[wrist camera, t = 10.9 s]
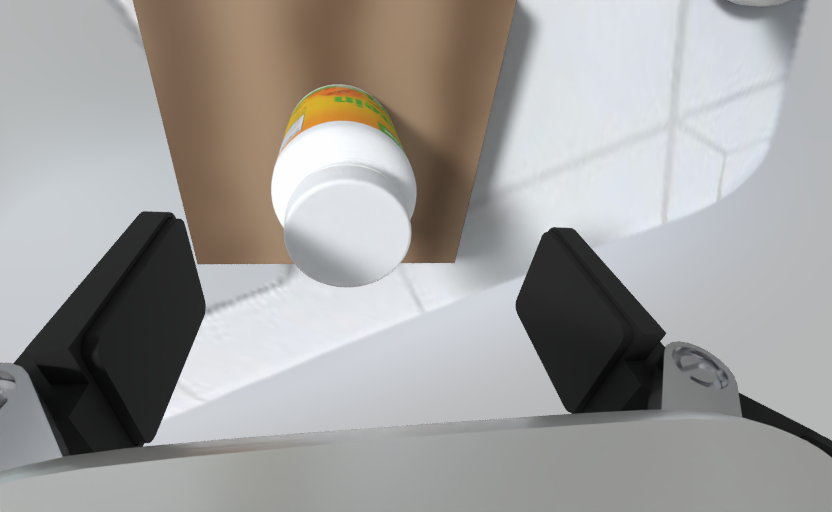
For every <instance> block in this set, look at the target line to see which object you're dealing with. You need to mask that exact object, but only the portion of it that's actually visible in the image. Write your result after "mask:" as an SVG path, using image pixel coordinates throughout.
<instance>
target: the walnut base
mask: <svg viewBox="0 0 832 512" xmlns="http://www.w3.org/2000/svg"><path fill="white" fill-rule="evenodd" d="M516 1H517V0H133V3H134V7H135V11H136V15H137V19H138V24H139V28H140V32H141V36H142V40H143V44H144V48H145V52H146V56H147V60H148V64H149V68H150V72H151V76H152V80H153V85H154V88H155V93H156V97H157V101H158V105H159V108H160V113H161V117H162V121H163V125H164V129H165V133H166V137H167V141H168V145H169V149H170V153H171V157H172V162H173V166H174V170H175V174H176V178H177V182H178V186H179V190H180V194H181V198H182V202H183V207H184V211H185V215H186V219H187V223H188V227H189V230H190V235H191V239H192V243H193V247H194V251H195V255H196V259H197V263H198V264H294V262H293V261H292V259H291V258H290V256H289V254H288V252H287V250H286V246H285V242H284V233H283V231H284V228H283V226H282V225H281V223H280V221H279V220H278V218H277V215H276V213H275V210H274V207H273V203H272V196H271V183H272V176H273V171H274V166H275V164H276V160H277V157H278V154H279V151H280V148H281V145H282V142H283V138H284V135H285V132H286V129H287V126H288V122H289V120H290V117H291V115H292V113H293V111H294V109H295V108H296V106H297V105H298V103H299V102H300V101H301V100H302V99H303V98H304V97H305V96H306V95H308V94H309V93H310V92H312V91H314V90H316V89H318V88H320V87H323V86H327V85H335V84H342V85H350V86H353V87H357V88H359V89H362V90H364V91H365V92H367V93H369V94H370V95H372V96H373V97H374V98H375V99H376V100H377V101H379V103H380V104H381V105H382V106H383V107H384V109H385V110H386V112H387V113H388V115H389V117H390V119H391V121H392V123H393V126H394V128H395V131H396V133H397V135H398V138H399V140H400V142H401V145H402V147H403V149H404V151H405V153H406V156H407V158H408V160H409V162H410V165H411V167H412V170H413V173H414V177H415V182H416V193H417V195H416V203H415V208H414V212H413V215H412V217H411V220H410V223H411V231H412V232H411V242H410V245H409V249H408V251H407V253H406V255H405V257H404V259H403V260H402V262H401V263H455V259H456V255H457V250H458V246H459V242H460V238H461V234H462V229H463V225H464V221H465V217H466V212H467V208H468V204H469V200H470V196H471V191H472V187H473V183H474V179H475V174H476V170H477V166H478V162H479V158H480V153H481V149H482V145H483V141H484V136H485V132H486V128H487V124H488V120H489V115H490V111H491V107H492V103H493V98H494V94H495V90H496V86H497V82H498V77H499V73H500V69H501V65H502V60H503V56H504V52H505V48H506V44H507V39H508V35H509V31H510V27H511V22H512V18H513V14H514V10H515V6H516Z"/></svg>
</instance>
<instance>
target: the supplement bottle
mask: <svg viewBox="0 0 832 512" xmlns="http://www.w3.org/2000/svg"><path fill="white" fill-rule="evenodd" d="M416 195H417V193H416V182H415V177H414V173H413V170H412V167H411V165H410V162H409V160H408V158H407V156H406V153H405V151H404V149H403V147H402V145H401V142H400V140H399V138H398V135H397V133H396V131H395V128H394V126H393V123H392V121H391V119H390V117H389V115H388V113H387V112H386V110H385V109H384V107H383V106H382V105H381V104H380V103H379V101H377V100H376V99H375V98H374V97H373V96H372V95H370V94H369V93H367V92H365V91H364V90H362V89H359V88H357V87H353V86H350V85H342V84H335V85H327V86H323V87H320V88H318V89H316V90H314V91H312V92H310V93H309V94H308V95H306V96H305V97H304V98H303V99H302V100H301V101H300V102H299V103H298V105H297V106H296V108H295V109H294V111H293V113H292V115H291V117H290V120H289V122H288V126H287V129H286V132H285V135H284V138H283V142H282V145H281V148H280V151H279V154H278V157H277V160H276V164H275V166H274V171H273V176H272V183H271V196H272V203H273V207H274V210H275V213H276V215H277V218H278V220H279V221H280V223H281V225H282V226H283V228H284V231H283V233H284V242H285V246H286V250H287V252H288V254H289V256H290V258H291V259H292V261H293V262H294V264H295V265H296V266H297V267H298V268H299V269H300V270H301V271H302V272H303V273H305V274H306V275H307V276H309V277H310V278H312V279H314V280H316V281H318V282H321V283H324V284H327V285H331V286H336V287H357V286H363V285H367V284H370V283H373V282H376V281H378V280H380V279H382V278H383V277H385V276H387V275H388V274H390V273H391V272H392V271H393V270H394V269H395V268H396V267H397V266H398V265H399V264H400V263H401V262H402V260H403V259H404V257H405V255H406V253H407V251H408V249H409V245H410V242H411V232H412V231H411V223H410V220H411V217H412V215H413V212H414V208H415V203H416Z"/></svg>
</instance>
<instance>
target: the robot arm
mask: <svg viewBox="0 0 832 512" xmlns="http://www.w3.org/2000/svg"><path fill="white" fill-rule="evenodd" d="M727 1H730V2H732V3H735V4H738V5H747V6H758V7H762V6H773V5H780V4H783V3H786V2H789V1H792V0H727ZM205 308H206V306H205V300H204V295H203V292H202V288H201V284H200V280H199V277H198V273H197V269H196V265H195V261H194V258H193V254H192V250H191V246H190V242H189V239H188V235H187V231H186V227H185V224H184V222H183V220H182V219H176V218H175V216H174V215H173V213H170V212H141V213H140V214H139V215H138V216H137V217H136V219H135V220H134V221H133V222H132V223H131V225H130V226H129V227H128V228H127V229H126V231H125V232H124V233H123V234H122V235H121V236H120V238H119V239H118V240H117V241H116V242H115V244H114V245H113V246H112V247H111V248H110V249H109V251H108V252H107V253H106V254H105V255H104V257H103V258H102V259H101V260H100V261H99V262H98V264H97V265H96V266H95V267H94V268H93V270H92V271H91V272H90V273H89V274H88V275H87V277H86V278H85V279H84V280H83V281H82V283H81V284H80V285H79V286H78V288H77V289H76V290H75V291H74V292H73V293H72V294H71V296H70V297H69V298H68V299H67V301H66V302H65V303H64V304H63V305H62V306H61V308H60V309H59V310H58V311H57V312H56V314H55V315H54V316H53V317H52V318H51V319H50V320H49V322H48V323H47V324H46V325H45V326H44V328H43V329H42V330H41V331H40V332H39V333H38V335H37V336H36V337H35V338H34V339H33V341H32V342H31V343H30V344H29V345H28V346H27V348H26V349H25V351H24V352H23V353H22V354H21V355H20V356H19V358H18V359H17V360H16V361H15V362H14V364H12V363H0V512H832V441H831V440H830V439H828V438H826V437H823V436H821V435H820V434H818V433H817V432H815V431H813V430H811V429H809V428H807V427H805V426H803V425H801V424H799V423H797V422H795V421H793V420H791V419H789V418H787V417H785V416H784V415H782V414H780V413H778V412H776V411H774V410H772V409H770V408H768V407H766V406H764V405H762V404H760V403H758V402H756V401H754V400H752V399H750V398H748V397H746V396H744V395H742V394H740V393H738V387H737V382H736V380H735V377H734V376H733V374H732V372H731V371H730V370H729V368H728V367H727V366H726V365H725V364H724V363H722V361H720V360H719V359H718V358H717V357H715V356H714V355H712V354H711V353H710V352H708V351H706V350H704V349H702V348H700V347H698V346H695V345H693V344H689V343H685V342H672V343H670V344H668V345H667V346H666V347H664V346H663V345H662V343H661V342H660V341H661V340H662V338H663V337H664V336H665V334H666V332H665V331H664V330H663V329H662V328H661V327H660V325H659V324H658V323H657V322H656V321H655V320H654V319H653V318H652V316H651V315H650V314H649V313H648V312H647V311H646V310H645V309H644V308H643V306H642V305H641V304H640V303H639V302H638V301H637V300H636V299H635V298H634V296H633V295H632V294H631V293H630V292H629V291H628V289H627V288H626V287H625V286H624V285H623V284H622V283H621V281H620V280H619V279H618V278H617V277H616V276H615V275H614V274H613V273H612V271H611V270H610V269H609V268H608V267H607V266H606V265H605V263H604V262H603V261H602V260H601V259H600V258H599V257H598V256H597V254H596V253H595V252H594V251H593V250H592V249H591V248H590V247H589V245H588V244H587V243H586V242H585V241H584V240H583V239H582V238H581V236H580V235H579V234H578V233H577V232H576V231H575V230H574V229H573V228H556V227H553V228H551V229H550V230H549V231H548V232H546V233H544V234H543V236H542V237H541V240H540V242H539V245H538V247H537V250H536V252H535V255H534V257H533V260H532V262H531V265H530V267H529V270H528V272H527V275H526V277H525V280H524V283H523V285H522V287H521V290H520V293H519V295H518V297H517V300H516V311H517V314H518V316H519V318H520V320H521V322H522V324H523V326H524V328H525V330H526V332H527V334H528V336H529V338H530V340H531V342H532V344H533V345H534V348H535V350H536V351H537V354H538V356H539V357H540V360H541V361H542V363H543V366H544V367H545V370H546V371H547V373H548V375H549V377H550V379H551V381H552V383H553V385H554V387H555V389H556V391H557V393H558V395H559V397H560V399H561V401H562V403H563V405H564V407H565V409H566V410H567V411H568V412H570V413H572V414H566V415H565V414H564V415H549V416H534V417H520V418H505V419H490V420H476V421H462V422H448V423H435V424H434V423H433V424H420V425H406V426H394V427H393V426H392V427H379V428H365V429H351V430H339V431H325V432H313V433H300V434H287V435H274V436H260V437H248V438H235V439H222V440H211V441H201V442H190V443H179V444H169V445H158V446H146V447H143V445H144V443H150V442H151V441H152V440H153V439H154V437H155V435H156V433H157V430H158V428H159V425H160V423H161V421H162V418H163V416H164V413H165V411H166V408H167V406H168V403H169V401H170V399H171V396H172V394H173V391H174V389H175V386H176V384H177V381H178V379H179V377H180V374H181V372H182V369H183V367H184V364H185V362H186V359H187V357H188V354H189V352H190V350H191V347H192V345H193V342H194V340H195V337H196V335H197V332H198V330H199V327H200V325H201V323H202V320H203V318H204V315H205Z"/></svg>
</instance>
